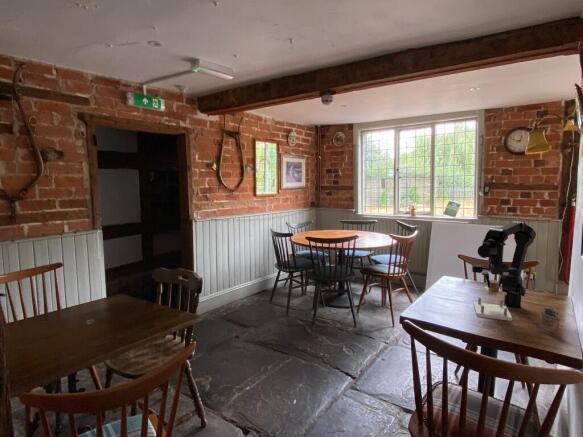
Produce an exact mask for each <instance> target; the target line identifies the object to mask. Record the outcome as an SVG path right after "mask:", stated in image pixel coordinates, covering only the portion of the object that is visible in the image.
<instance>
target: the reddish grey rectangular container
mask: <svg viewBox="0 0 583 437" xmlns="http://www.w3.org/2000/svg"><path fill="white" fill-rule="evenodd" d="M559 313H560V312H559V311H558V310H555V309H554V308H552V307H548V306H544V310H541V311H540V314H541V317H540V318H541V319H540V326H539V329H540V330H541V331H543V332H544V333H545V334H547V335H549V336H550V335H551V337H552V336H553V337H559V327H560V321H561V317H560V316H559Z"/></svg>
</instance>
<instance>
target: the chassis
mask: <svg viewBox="0 0 583 437" xmlns="http://www.w3.org/2000/svg"><path fill="white" fill-rule="evenodd" d="M503 304H504V299H503V300H502V299H499V304H493V303H486V302H485V303H484V302H482V297H478V300H477V301H473V308H474V312H475V315H476V317H481V318H487V319H494V320H502V321H509V322H513V317H512V315H511V313H510V311H509V309H508V306H506V305H503Z"/></svg>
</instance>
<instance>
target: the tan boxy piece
mask: <svg viewBox="0 0 583 437" xmlns="http://www.w3.org/2000/svg"><path fill="white" fill-rule="evenodd" d="M489 283H490V286H489V288H488V286H484V291H485V292H486V294H487V295H489V296H498V297H500V296H501V297H504V295H503V293H504V292H502V291H501V290H502V289H500V288H499V282H498V279H497V280H495V279H489Z"/></svg>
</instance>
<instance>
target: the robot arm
mask: <svg viewBox="0 0 583 437" xmlns="http://www.w3.org/2000/svg"><path fill="white" fill-rule="evenodd" d="M511 235H514V237H513V239H514V242H515V244H516V245H515V249H514V253H513V257H512V261H511V265H510V266H509V264H506V263H503V262H504V257H503V256H504V247H505V246H506V245H507V244H506V243H505V242H506V240H508V239H509V236H511ZM536 237H537V233H536V231H535V230H534V228H532V227H531V226H529V225H527V224H526V222H525V221H520V220H513V221H511V222H509V223H508V224H506V225H504V226H500V227H490V228H489V229H488V231H487V232H486V234H485V237H484V239H483V240H482V244H481V245H480V246H478V249H477V254H478V256H479V257H481V258H483V259H488V262H487V267H486V266H483V265H482V264H476V263H475V264H474V263H473V264H472V265H471V271H472V273H475V274H481V275H482V276H484V278H485V280H486V281H485V282H486V284H487V287H488V288H489V286H490V283H489V280H490V274H492V275H498V279H497V281H498V282H499V289H500V287H501V290H502V291H501V292H502V293H505V294H504V295H503V304H504V306H506V307H507V308H508V307H509V308H510V307H511V308H517V309H518V308H519V309H522V305H521V304H522V302H521V301H522V297H525V295H526V291H527V290H526V289H525V287H524V285H523V284H524V280H523V278H522V272H523V267H524V263H525V259H526V255H527V251H528V247H530V246H531V245H532V244H533V243H534V241H535V239H536Z"/></svg>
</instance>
